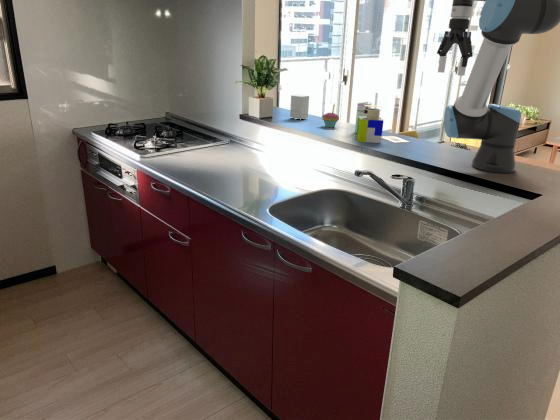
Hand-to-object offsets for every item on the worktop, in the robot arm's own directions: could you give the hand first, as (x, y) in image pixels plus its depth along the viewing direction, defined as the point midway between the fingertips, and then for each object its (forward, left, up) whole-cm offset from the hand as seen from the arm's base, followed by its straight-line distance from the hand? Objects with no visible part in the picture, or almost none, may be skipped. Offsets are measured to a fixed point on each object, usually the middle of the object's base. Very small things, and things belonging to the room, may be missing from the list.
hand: (450, 74), depth 199 cm
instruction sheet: (+21, +10, -32) cm, 39 cm away
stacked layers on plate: (+20, +23, -22) cm, 38 cm away
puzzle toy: (+21, +23, -32) cm, 45 cm away
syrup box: (+38, +18, -32) cm, 53 cm away
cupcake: (+52, +29, -32) cm, 68 cm away
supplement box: (+75, +38, -32) cm, 90 cm away
